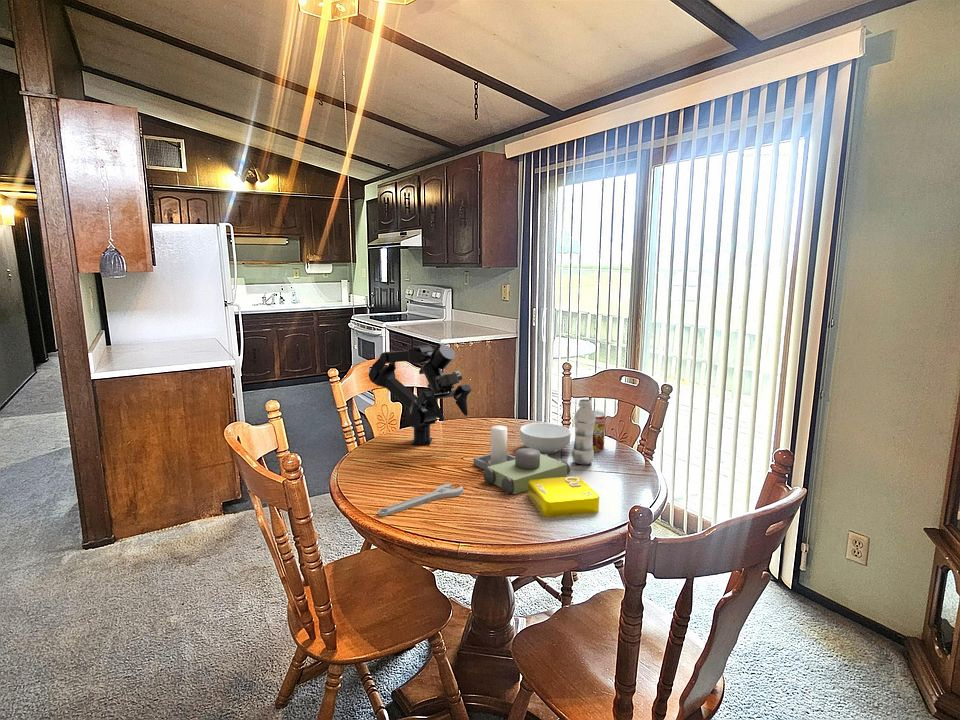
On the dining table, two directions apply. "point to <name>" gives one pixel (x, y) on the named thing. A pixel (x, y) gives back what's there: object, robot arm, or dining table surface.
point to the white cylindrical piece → (498, 445)
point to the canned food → (599, 431)
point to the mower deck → (521, 469)
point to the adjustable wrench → (422, 499)
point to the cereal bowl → (545, 437)
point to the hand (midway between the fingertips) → (455, 417)
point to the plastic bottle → (584, 433)
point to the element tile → (563, 496)
